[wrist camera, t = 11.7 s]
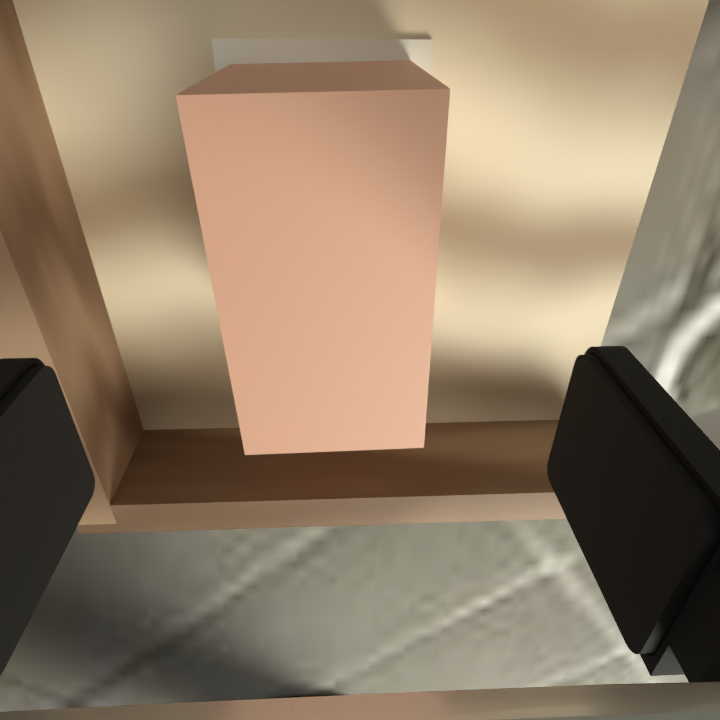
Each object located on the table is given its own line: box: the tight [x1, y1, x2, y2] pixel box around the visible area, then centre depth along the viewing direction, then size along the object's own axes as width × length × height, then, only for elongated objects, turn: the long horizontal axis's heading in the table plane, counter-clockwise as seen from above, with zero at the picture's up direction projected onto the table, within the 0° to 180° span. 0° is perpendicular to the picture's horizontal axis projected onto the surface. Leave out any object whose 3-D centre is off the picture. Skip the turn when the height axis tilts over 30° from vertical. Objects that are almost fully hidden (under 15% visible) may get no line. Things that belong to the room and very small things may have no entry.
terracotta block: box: [175, 60, 450, 455], centre depth 14 cm, size 5×9×6 cm, turn 1°
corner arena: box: [0, 0, 709, 534], centre depth 16 cm, size 22×20×5 cm
